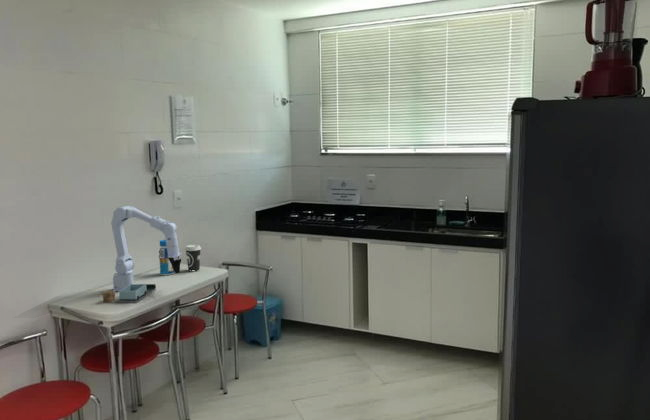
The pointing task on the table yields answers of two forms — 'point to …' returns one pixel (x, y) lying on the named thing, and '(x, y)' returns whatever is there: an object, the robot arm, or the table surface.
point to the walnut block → (109, 296)
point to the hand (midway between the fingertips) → (176, 271)
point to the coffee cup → (193, 257)
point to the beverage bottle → (164, 260)
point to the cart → (133, 291)
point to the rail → (149, 290)
